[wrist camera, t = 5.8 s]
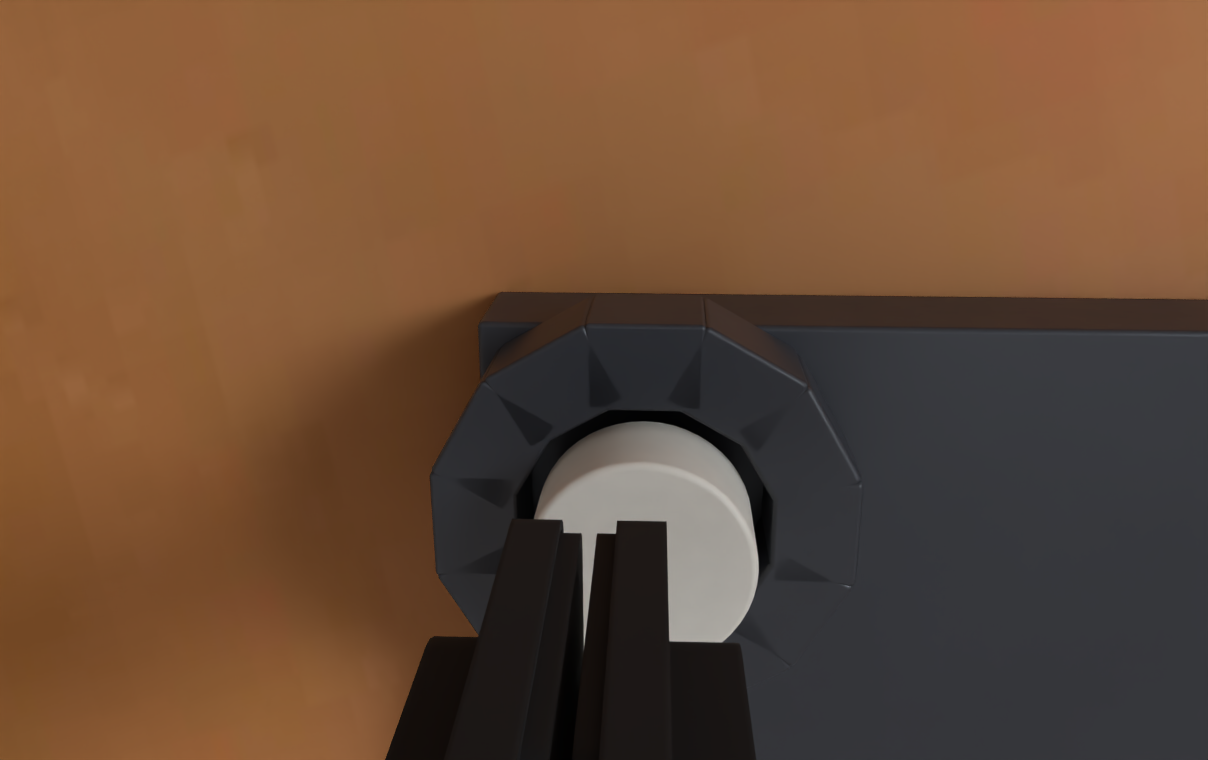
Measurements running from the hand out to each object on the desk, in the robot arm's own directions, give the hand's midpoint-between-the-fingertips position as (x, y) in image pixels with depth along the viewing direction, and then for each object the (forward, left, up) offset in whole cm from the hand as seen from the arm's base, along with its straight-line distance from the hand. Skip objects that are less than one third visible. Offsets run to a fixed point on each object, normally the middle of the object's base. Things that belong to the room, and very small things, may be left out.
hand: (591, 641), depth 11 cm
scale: (+5, -5, -7) cm, 10 cm away
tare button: (0, 0, -4) cm, 4 cm away
